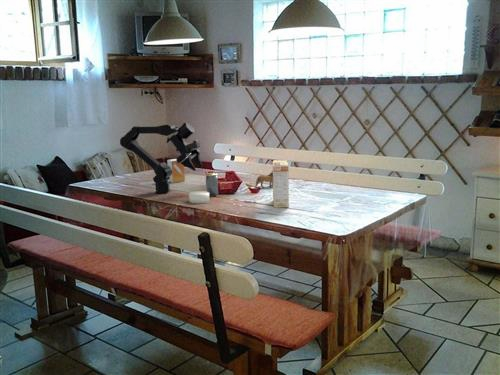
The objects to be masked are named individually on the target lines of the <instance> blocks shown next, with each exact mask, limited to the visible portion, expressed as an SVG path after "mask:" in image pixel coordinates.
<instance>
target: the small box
mask: <svg viewBox="0 0 500 375" xmlns="http://www.w3.org/2000/svg"><path fill="white" fill-rule="evenodd" d="M176 159H177V158H173V159H172V158H171V159H167V160H166V162H167V163H166V164H167V165H168V166H170V168H171V169H172V175H171V176H170V178H169V180H168V183H172V184H174V183H182V182H186V180H185V178H186V175H185V166H184V165H182V164H180V163H178V162H177V161H176ZM181 163H182V161H181Z"/></svg>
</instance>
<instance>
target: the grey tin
mask: <svg viewBox="0 0 500 375" xmlns="http://www.w3.org/2000/svg"><path fill="white" fill-rule="evenodd" d="M218 178H219V177H218V173H217V172H207V173H205V191H206V192H209V197H216V196H217V197H218V196H219V182H218Z"/></svg>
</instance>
